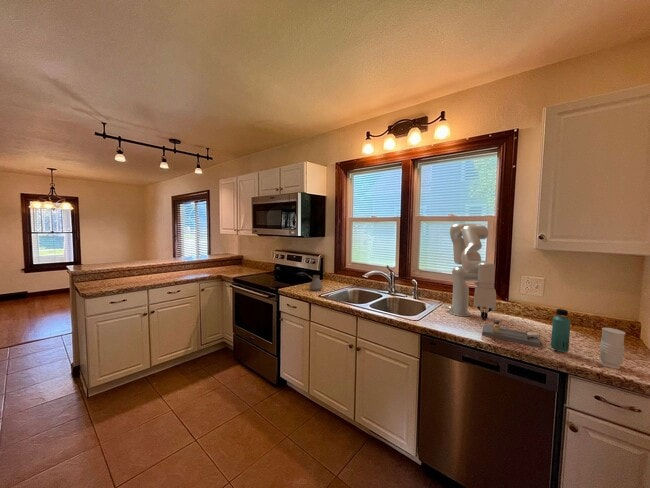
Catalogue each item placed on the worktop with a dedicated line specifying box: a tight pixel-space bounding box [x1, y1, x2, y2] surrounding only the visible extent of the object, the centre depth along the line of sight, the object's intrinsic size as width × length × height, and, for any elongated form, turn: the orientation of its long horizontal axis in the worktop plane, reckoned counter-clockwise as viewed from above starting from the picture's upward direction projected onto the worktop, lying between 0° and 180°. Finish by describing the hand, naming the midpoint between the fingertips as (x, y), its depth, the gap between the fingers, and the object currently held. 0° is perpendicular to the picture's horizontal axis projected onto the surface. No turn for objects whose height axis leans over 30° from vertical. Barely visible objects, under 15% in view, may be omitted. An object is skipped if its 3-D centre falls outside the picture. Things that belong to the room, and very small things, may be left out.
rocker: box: [527, 331, 539, 338], centre depth 134 cm, size 4×4×1 cm
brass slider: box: [492, 323, 500, 333], centre depth 140 cm, size 3×3×4 cm
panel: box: [481, 324, 541, 348], centre depth 139 cm, size 24×13×3 cm, turn 56°
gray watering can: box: [300, 271, 323, 292], centre depth 235 cm, size 21×12×15 cm, turn 62°
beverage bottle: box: [550, 308, 572, 353], centre depth 123 cm, size 6×7×20 cm
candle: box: [598, 327, 627, 370], centre depth 111 cm, size 7×7×15 cm
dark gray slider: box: [493, 319, 500, 326], centre depth 146 cm, size 3×3×4 cm
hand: (484, 319), depth 142 cm, fingers closed
